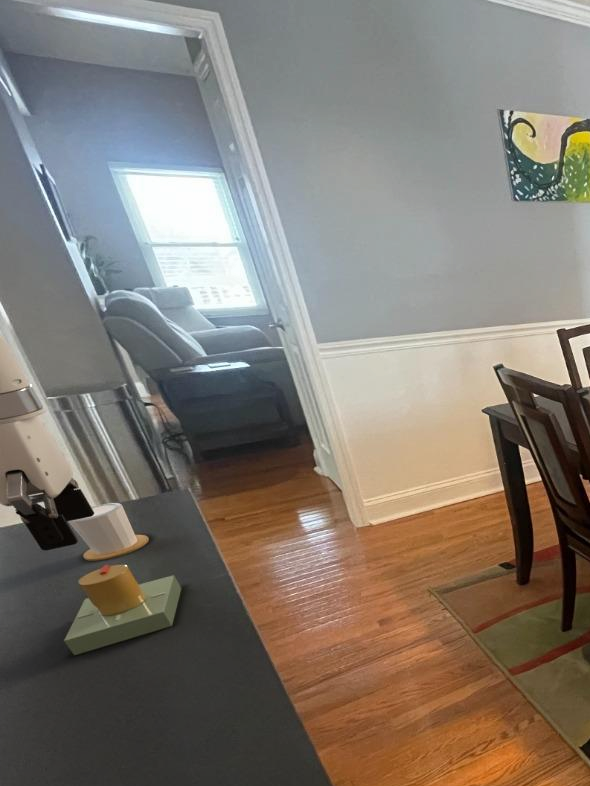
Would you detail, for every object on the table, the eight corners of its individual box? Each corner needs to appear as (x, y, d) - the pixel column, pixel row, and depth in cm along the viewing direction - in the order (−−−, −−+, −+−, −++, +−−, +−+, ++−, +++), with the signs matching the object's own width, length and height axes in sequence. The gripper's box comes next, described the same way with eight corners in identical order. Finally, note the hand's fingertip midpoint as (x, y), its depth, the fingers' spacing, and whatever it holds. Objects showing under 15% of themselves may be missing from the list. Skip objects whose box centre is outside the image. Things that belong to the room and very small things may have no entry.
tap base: (74, 655, 79) (62, 639, 78) (94, 612, 88) (84, 598, 86) (172, 626, 84) (162, 610, 83) (181, 588, 93) (173, 574, 91)
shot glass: (103, 559, 101) (80, 523, 98) (80, 553, 103) (57, 517, 100) (150, 539, 107) (130, 505, 104) (127, 534, 109) (107, 500, 106)
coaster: (79, 566, 100) (77, 564, 100) (90, 546, 106) (89, 544, 106) (144, 549, 104) (143, 547, 104) (152, 532, 111) (151, 530, 110)
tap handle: (143, 606, 84) (122, 574, 81) (94, 620, 82) (72, 586, 79) (149, 590, 88) (129, 559, 85) (103, 603, 85) (81, 570, 83)
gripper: (-27, 396, 75) (48, 516, 83) (-86, 431, 63) (8, 568, 71) (57, 386, 79) (120, 501, 87) (17, 418, 67) (95, 549, 75)
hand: (70, 531), depth 79 cm, fingers open, 9 cm apart
